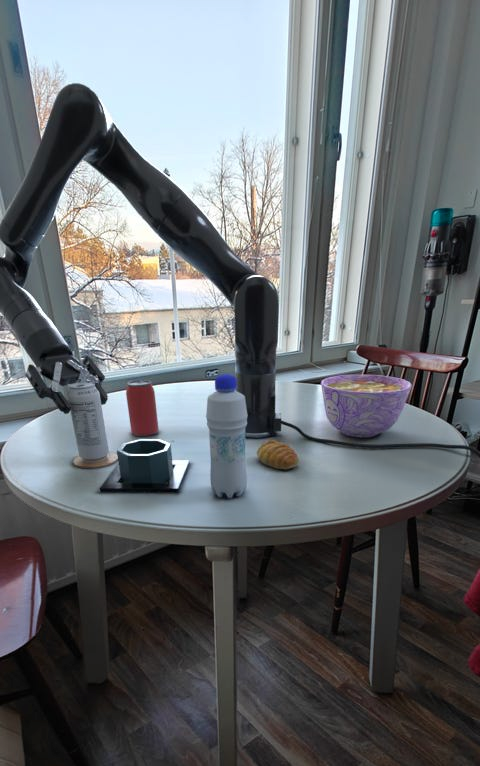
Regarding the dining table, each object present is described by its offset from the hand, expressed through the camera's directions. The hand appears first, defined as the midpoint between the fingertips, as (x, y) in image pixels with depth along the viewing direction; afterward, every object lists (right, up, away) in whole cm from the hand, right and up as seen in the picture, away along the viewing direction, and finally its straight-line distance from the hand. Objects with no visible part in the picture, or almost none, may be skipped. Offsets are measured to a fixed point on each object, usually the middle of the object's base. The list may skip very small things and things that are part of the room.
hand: (87, 406), depth 90 cm
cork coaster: (0, -10, +6) cm, 11 cm away
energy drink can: (0, -10, +6) cm, 11 cm away
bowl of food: (+59, -1, +19) cm, 62 cm away
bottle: (+28, -18, -10) cm, 35 cm away
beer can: (+7, -1, +22) cm, 23 cm away
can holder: (+12, -14, -3) cm, 19 cm away
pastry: (+38, -11, +3) cm, 39 cm away
